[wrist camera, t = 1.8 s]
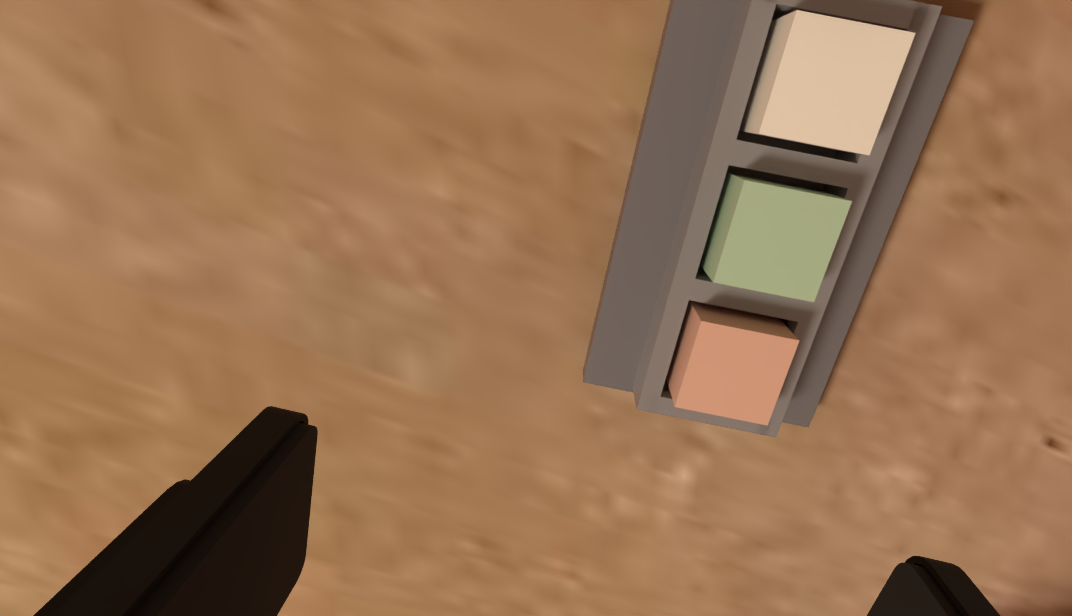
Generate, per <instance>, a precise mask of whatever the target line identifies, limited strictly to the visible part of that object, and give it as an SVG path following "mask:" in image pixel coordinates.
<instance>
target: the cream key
mask: <svg viewBox="0 0 1072 616" xmlns="http://www.w3.org/2000/svg"><path fill="white" fill-rule="evenodd" d="M914 36H915V33H913V32H908V31H903V30H898V29H893V28H887V27H882V26H877V25H872V24H867V23H862V22H856V21H851V20H846V19H841V18H836V17H830V16H825V15H820V14H815V13H810V12H805V11H799V10H796V11H793V12H791V13H789V14H787V15H785V16H782V17H780V18H778V19H776V20H774V21H771V24H770V27H769V30H768V34H767V37H766V40H765V44H764V47H763V51H762V54H761V57H760V61H759V64H758V68H757V71H756V74H755V78H754V81H753V85H752V88H751V91H750V95H749V98H748V102H747V105H746V108H745V112H744V115H743V118H742V122H741V125H740V129H739V131H743V132H748V133H753V134H758V135H763V136H768V137H773V138H778V139H784V140H789V141H794V142H799V143H804V144H809V145H814V146H819V147H824V148H830V149H835V150H840V151H846V152H852V153H858V154H864V155H870V153H871V150H872V147H873V145H874V142H875V139H876V137H877V134H878V131H879V129H880V126H881V124H882V121H883V118H884V116H885V113H886V110H887V108H888V105H889V102H890V100H891V97H892V94H893V92H894V89H895V86H896V84H897V81H898V78H899V76H900V73H901V71H902V68H903V65H904V63H905V60H906V57H907V55H908V52H909V49H910V47H911V44H912V41H913V39H914Z"/></svg>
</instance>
